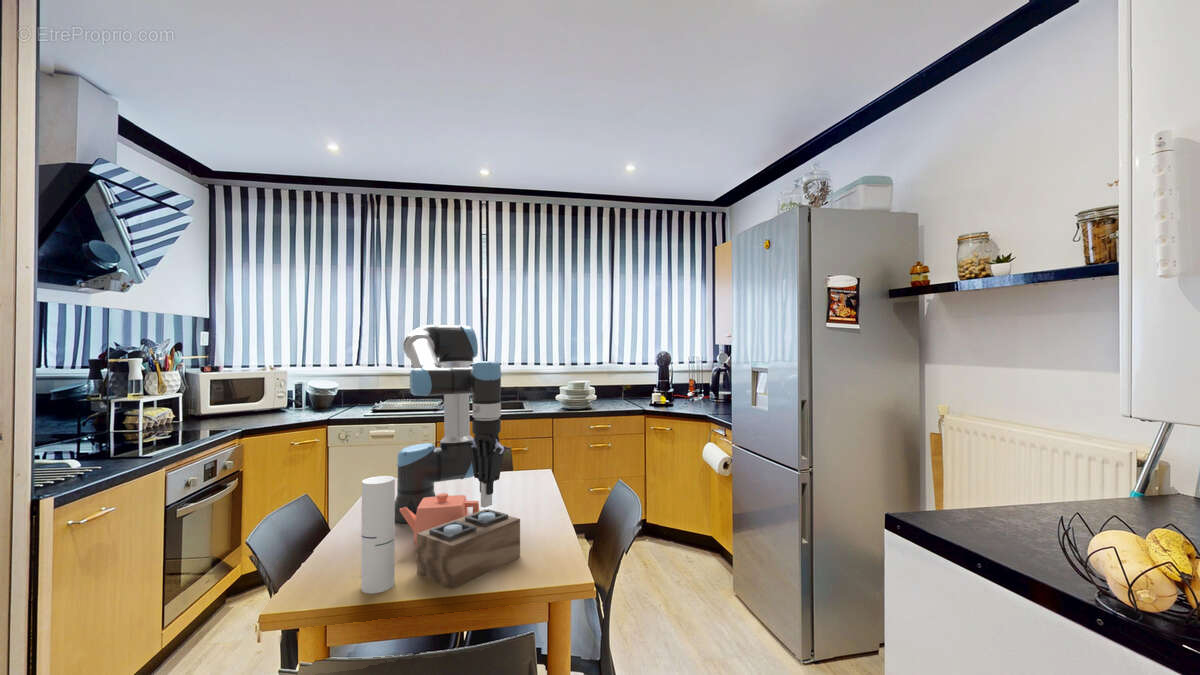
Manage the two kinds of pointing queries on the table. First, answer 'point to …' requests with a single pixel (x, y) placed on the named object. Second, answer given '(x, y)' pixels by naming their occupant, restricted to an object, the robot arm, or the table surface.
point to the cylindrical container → (378, 534)
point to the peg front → (452, 528)
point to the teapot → (437, 512)
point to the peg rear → (486, 516)
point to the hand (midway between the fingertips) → (486, 505)
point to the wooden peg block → (467, 548)
